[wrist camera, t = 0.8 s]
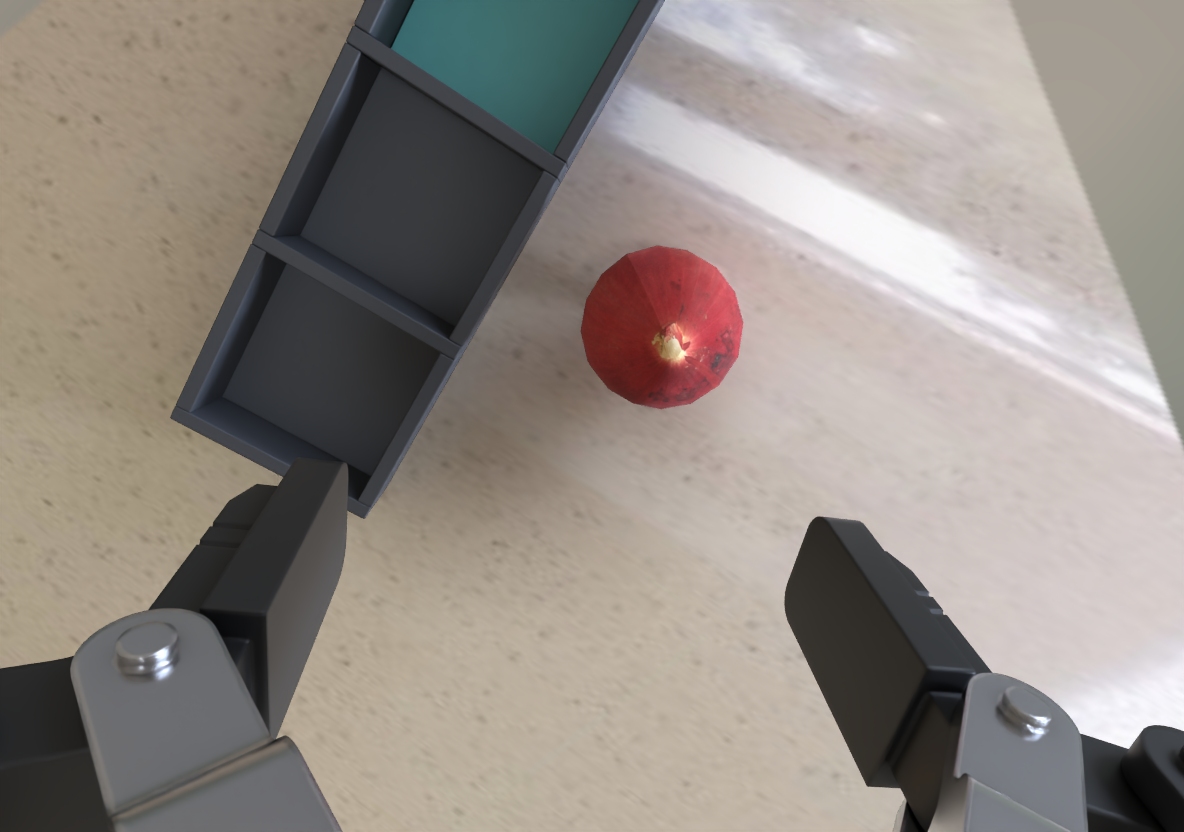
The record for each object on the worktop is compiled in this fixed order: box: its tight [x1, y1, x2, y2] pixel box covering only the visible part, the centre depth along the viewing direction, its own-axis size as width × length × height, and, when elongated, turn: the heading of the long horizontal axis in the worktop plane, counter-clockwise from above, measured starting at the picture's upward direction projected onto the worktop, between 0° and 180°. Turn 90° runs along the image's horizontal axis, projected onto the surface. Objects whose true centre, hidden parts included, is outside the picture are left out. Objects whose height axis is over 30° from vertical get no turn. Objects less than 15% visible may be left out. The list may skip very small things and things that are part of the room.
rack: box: [170, 0, 665, 519], centre depth 26 cm, size 23×8×3 cm, turn 148°
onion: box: [581, 246, 743, 409], centre depth 25 cm, size 6×6×8 cm
